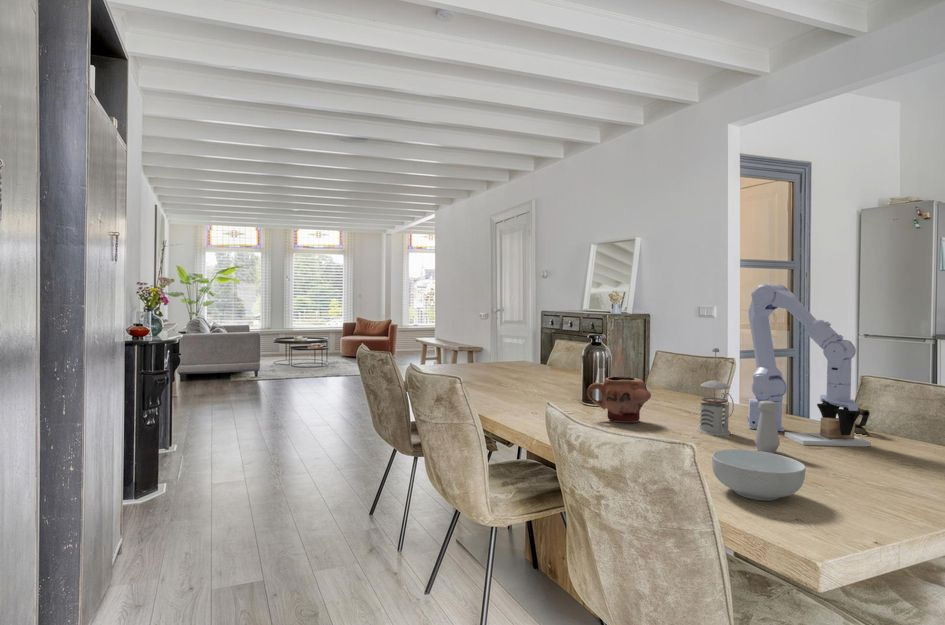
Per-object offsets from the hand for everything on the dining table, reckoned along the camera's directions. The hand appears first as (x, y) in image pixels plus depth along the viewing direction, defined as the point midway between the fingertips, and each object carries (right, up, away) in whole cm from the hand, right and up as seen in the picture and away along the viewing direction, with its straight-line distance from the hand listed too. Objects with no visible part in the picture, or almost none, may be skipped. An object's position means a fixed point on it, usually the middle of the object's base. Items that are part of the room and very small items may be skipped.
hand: (837, 431), depth 163 cm
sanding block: (0, -2, 0) cm, 2 cm away
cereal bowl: (-45, -3, -46) cm, 65 cm away
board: (-3, -3, 0) cm, 4 cm away
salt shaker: (-26, -3, -12) cm, 29 cm away
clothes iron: (+13, -3, +13) cm, 19 cm away
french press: (-30, -2, +9) cm, 32 cm away
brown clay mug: (-55, -2, +25) cm, 60 cm away
